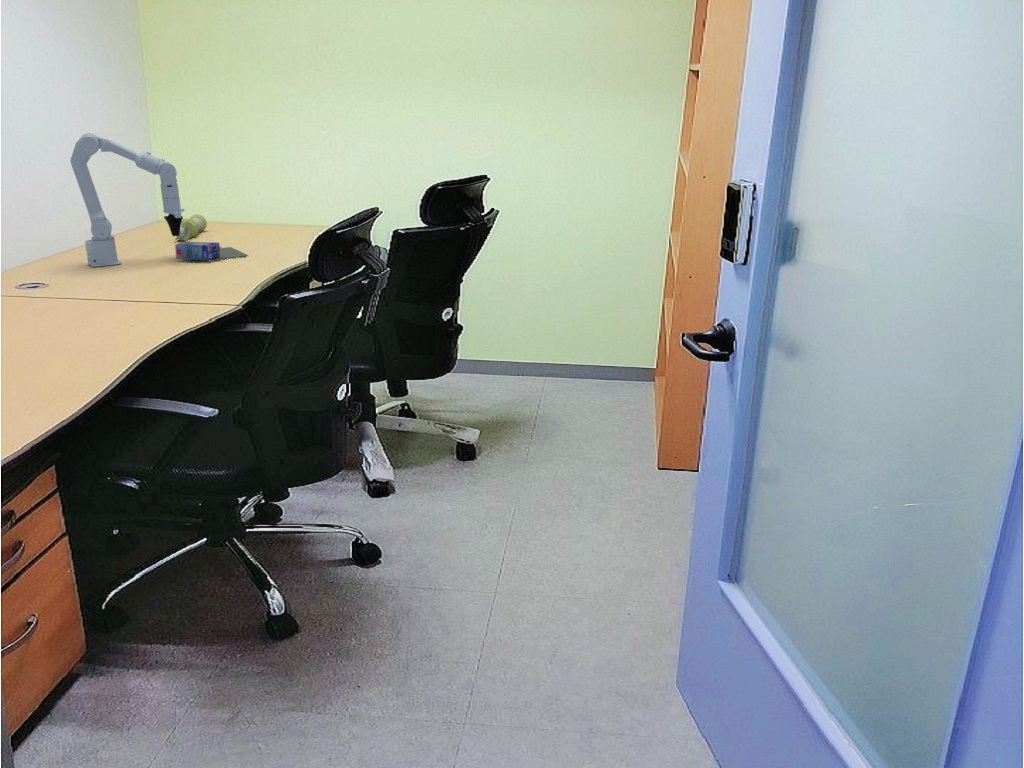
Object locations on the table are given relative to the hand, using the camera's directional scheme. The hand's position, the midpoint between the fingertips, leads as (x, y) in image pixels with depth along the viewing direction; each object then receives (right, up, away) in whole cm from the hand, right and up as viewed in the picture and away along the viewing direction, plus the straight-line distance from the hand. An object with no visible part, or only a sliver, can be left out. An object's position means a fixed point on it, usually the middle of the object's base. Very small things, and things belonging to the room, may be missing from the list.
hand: (175, 235), depth 300 cm
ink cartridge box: (+2, -5, +1) cm, 5 cm away
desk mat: (+10, -6, +10) cm, 15 cm away
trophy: (-13, +7, +46) cm, 48 cm away
